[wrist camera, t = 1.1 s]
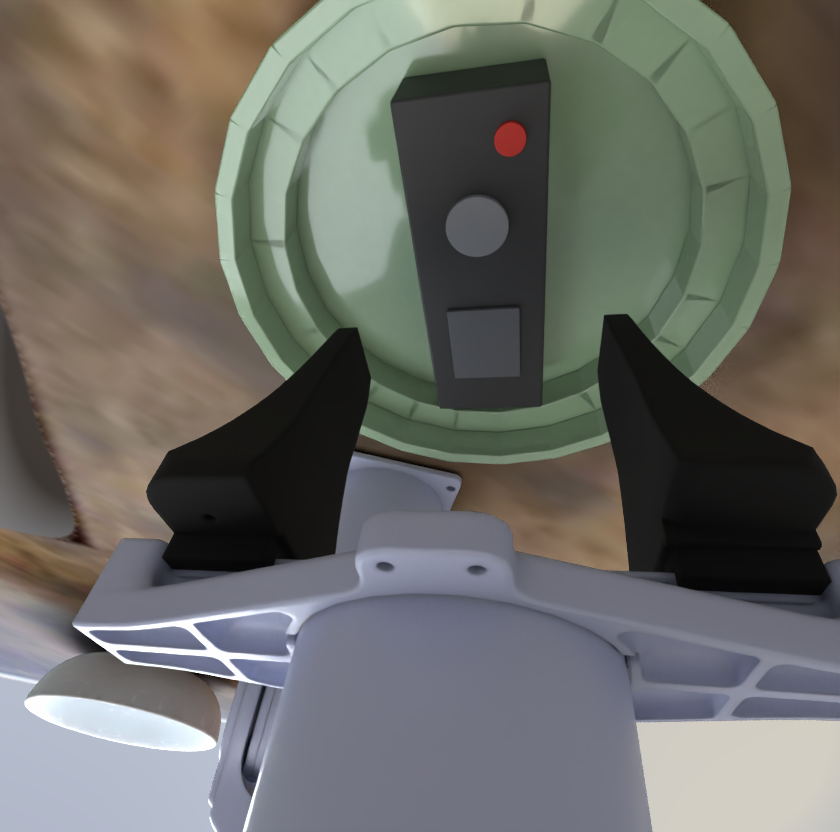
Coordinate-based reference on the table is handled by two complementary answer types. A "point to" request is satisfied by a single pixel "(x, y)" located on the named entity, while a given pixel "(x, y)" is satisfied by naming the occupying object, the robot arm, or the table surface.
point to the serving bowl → (129, 703)
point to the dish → (567, 201)
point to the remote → (479, 225)
